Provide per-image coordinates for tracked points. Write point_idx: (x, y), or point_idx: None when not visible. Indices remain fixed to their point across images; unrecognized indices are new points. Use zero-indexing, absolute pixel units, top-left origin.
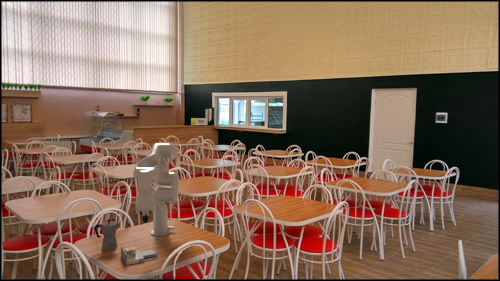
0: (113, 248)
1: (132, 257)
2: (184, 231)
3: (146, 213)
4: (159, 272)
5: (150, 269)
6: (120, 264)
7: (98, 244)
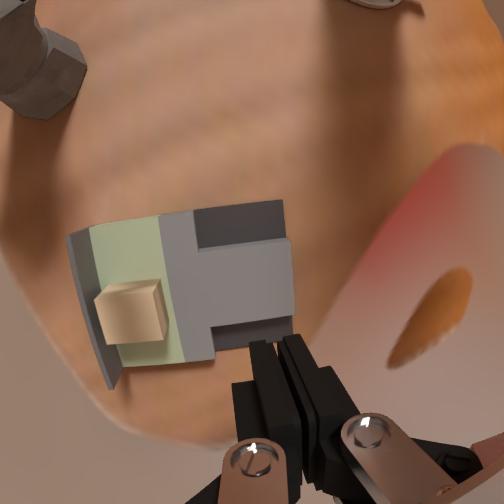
0: (59, 108)
1: None
2: (458, 21)
3: (352, 481)
4: None
5: None
6: None
7: None
